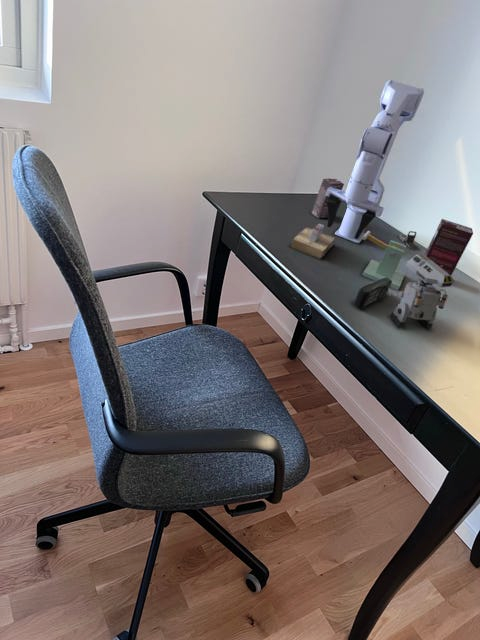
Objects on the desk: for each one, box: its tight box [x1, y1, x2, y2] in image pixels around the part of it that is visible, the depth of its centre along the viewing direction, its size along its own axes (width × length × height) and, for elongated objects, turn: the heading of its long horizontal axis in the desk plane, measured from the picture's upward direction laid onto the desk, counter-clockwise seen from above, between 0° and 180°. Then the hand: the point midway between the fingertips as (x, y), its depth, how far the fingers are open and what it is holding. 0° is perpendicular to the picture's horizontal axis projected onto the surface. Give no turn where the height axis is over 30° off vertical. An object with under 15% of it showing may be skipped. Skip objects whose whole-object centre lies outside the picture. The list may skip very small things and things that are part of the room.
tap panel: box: [290, 226, 336, 260], centre depth 133 cm, size 12×10×3 cm
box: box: [311, 178, 345, 219], centre depth 153 cm, size 6×4×12 cm
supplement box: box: [424, 218, 474, 276], centre depth 131 cm, size 9×5×16 cm, turn 71°
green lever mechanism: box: [362, 239, 407, 291], centre depth 125 cm, size 10×10×9 cm
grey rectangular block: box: [309, 223, 325, 242], centre depth 131 cm, size 6×2×4 cm, turn 154°
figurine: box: [387, 253, 455, 329], centre depth 107 cm, size 9×12×15 cm
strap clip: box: [398, 230, 419, 250], centre depth 152 cm, size 8×3×4 cm, turn 15°
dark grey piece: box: [353, 278, 392, 309], centre depth 114 cm, size 5×3×15 cm
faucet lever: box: [362, 230, 402, 250], centre depth 124 cm, size 10×6×2 cm, turn 65°
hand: (343, 231), depth 120 cm, fingers open, 7 cm apart
